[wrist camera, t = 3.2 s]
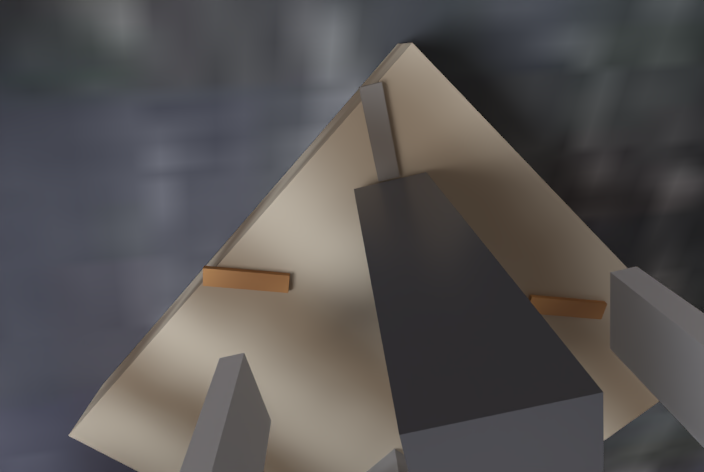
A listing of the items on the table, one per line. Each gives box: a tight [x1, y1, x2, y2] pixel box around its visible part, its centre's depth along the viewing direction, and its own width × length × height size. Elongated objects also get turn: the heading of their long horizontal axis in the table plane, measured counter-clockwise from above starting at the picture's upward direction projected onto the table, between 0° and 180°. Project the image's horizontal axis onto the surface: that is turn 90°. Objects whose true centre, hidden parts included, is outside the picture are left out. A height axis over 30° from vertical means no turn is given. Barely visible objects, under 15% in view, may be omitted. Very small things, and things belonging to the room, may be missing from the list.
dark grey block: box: [354, 172, 604, 472], centre depth 11 cm, size 9×2×10 cm, turn 13°
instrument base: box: [69, 43, 659, 472], centre depth 18 cm, size 20×18×6 cm
